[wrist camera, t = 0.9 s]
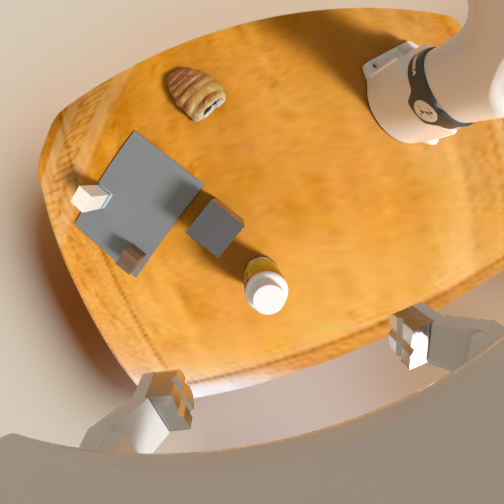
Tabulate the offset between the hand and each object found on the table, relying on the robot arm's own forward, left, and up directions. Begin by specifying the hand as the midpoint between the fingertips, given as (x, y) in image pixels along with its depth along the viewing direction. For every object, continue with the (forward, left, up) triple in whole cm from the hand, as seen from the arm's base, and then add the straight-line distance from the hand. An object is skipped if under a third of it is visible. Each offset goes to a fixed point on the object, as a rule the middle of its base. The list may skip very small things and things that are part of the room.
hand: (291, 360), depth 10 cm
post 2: (+14, -11, -32) cm, 37 cm away
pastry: (-10, -19, -33) cm, 39 cm away
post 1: (+10, -21, -32) cm, 39 cm away
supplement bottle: (+4, +6, -33) cm, 33 cm away
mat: (+8, -16, -32) cm, 37 cm away
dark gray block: (+2, -4, -32) cm, 33 cm away
